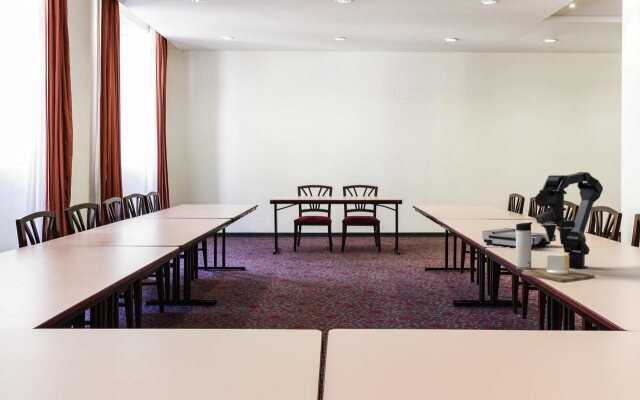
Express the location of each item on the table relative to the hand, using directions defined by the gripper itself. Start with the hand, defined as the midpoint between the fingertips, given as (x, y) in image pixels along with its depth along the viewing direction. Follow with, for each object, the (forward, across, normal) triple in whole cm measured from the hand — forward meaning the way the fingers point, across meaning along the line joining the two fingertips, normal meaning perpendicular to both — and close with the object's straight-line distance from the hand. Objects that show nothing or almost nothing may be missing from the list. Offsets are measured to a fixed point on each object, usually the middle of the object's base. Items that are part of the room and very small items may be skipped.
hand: (556, 242), depth 235 cm
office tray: (+12, -74, +19) cm, 77 cm away
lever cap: (+11, +9, -4) cm, 15 cm away
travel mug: (+12, -10, -9) cm, 18 cm away
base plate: (+12, +9, -4) cm, 16 cm away
